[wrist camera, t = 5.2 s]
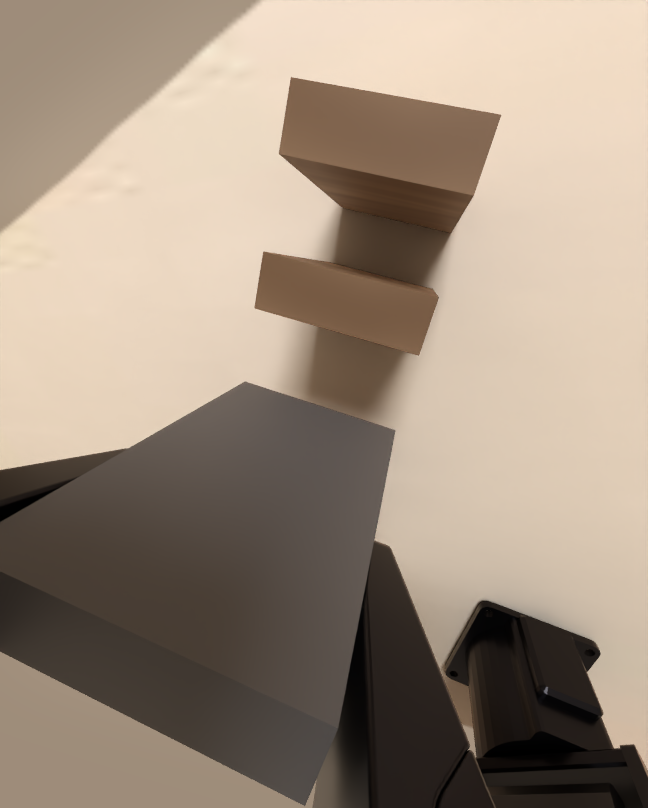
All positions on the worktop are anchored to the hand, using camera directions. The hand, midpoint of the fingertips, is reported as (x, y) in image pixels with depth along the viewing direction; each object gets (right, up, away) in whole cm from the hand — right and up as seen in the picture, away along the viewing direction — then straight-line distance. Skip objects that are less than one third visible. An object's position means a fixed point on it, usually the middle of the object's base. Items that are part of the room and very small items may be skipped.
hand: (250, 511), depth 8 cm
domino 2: (+4, +8, +10) cm, 13 cm away
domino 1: (+5, +11, +8) cm, 15 cm away
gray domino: (+1, +1, +4) cm, 5 cm away
